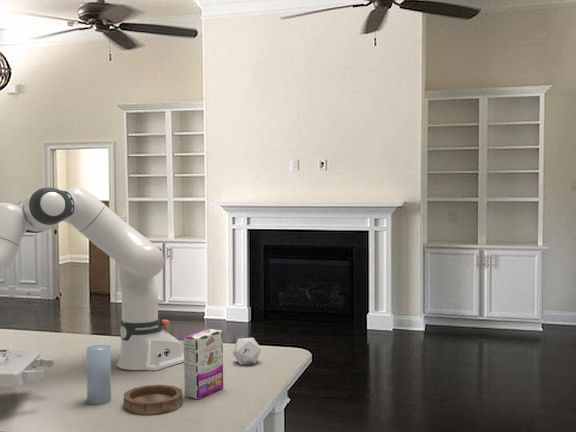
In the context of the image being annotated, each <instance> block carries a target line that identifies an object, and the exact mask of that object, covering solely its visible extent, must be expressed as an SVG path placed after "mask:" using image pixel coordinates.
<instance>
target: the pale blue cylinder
mask: <svg viewBox="0 0 576 432" xmlns="http://www.w3.org/2000/svg"><path fill="white" fill-rule="evenodd" d="M111 347H112V346H110V345H108V344H96V345H90V346H88V347H86V403H87V404H89V405H91V406H92V405H95V406H96V405H97V406H98V405H104V404H108V403H110V402H111V401H112V364H111V363H112V360H111V359H112V357H111V354H112V353H111V352H112V350H111V349H112V348H111Z"/></svg>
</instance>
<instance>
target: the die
mask: <svg viewBox="0 0 576 432" xmlns="http://www.w3.org/2000/svg"><path fill="white" fill-rule="evenodd" d="M255 339H256V338H254V337H246V338H245V337H244V338H237V340H236V342H235V346H234V348H233V351H232V355H233V356H234V358H235V360H237V362H238V364H239V365H240V366H243V365H244V364H245V365H253V364H257V361H258V359H259V356H260V353H261V351H262V347H260V345H259V343H258V342H257V341H256V340H255Z"/></svg>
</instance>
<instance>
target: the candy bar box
mask: <svg viewBox="0 0 576 432" xmlns="http://www.w3.org/2000/svg"><path fill="white" fill-rule="evenodd" d="M223 348H224V347H223V330H221V329H216V328H215V329H214V328H207V329H205V330H201V331H199V332H196V333H192V334H189V335H186V336H183V353H184V362H183V363H184V366H183V367H184V368H183V370H184V371H183V373H184V396H185V397H186V398H188V399H194V400H201V399H202V398H205V397H208V396H210V395H212V394H213V393H216V392H219V391H221V390H222V389H224V361H223V358H224V357H223V356H224V355H223V354H224V352H223V351H224V350H223Z"/></svg>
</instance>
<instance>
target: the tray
mask: <svg viewBox="0 0 576 432" xmlns="http://www.w3.org/2000/svg"><path fill="white" fill-rule="evenodd" d="M183 404H184V403H183V390H182V388H179V387H176V386H175V385H169V384H168V385H167V384H150V385H149V384H148V385H146V384H145V385H141V386H138V387H133V388H131V389H129V390H128V391H126V392H124V394H123V409H124V410H125V411H126V412H127V413H131V414H134V415H140V416H141V415H143V416H145V415H146V416H150V415H161V414H166V413H170V412H173V411H175V410H178V409H179V408H181V406H183Z"/></svg>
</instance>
